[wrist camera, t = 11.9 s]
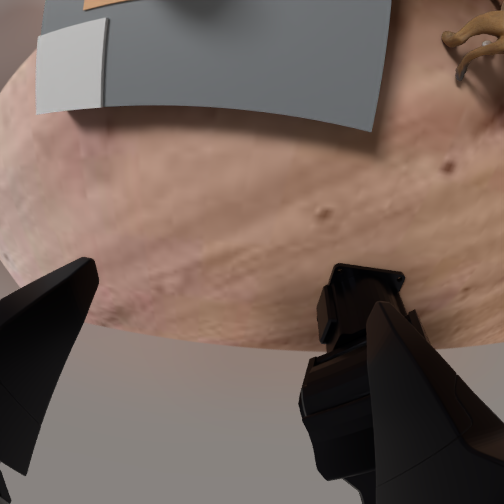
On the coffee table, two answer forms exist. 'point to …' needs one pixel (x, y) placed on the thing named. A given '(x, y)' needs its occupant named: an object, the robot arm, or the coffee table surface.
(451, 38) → the lion figurine
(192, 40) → the gray peg hole board
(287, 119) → the coffee table surface
